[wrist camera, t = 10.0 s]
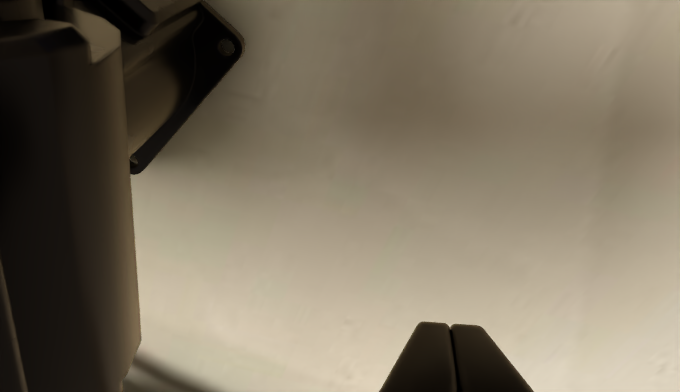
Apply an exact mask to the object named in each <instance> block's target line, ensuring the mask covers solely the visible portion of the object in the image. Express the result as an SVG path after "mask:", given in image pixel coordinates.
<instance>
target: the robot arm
mask: <svg viewBox="0 0 680 392" xmlns="http://www.w3.org/2000/svg"><path fill="white" fill-rule="evenodd" d="M223 40H229V41H231V42H232V43H233V45H234V49H235V50H234V52H233V53H228V52H226V51H225V50H224V49H223V47H222V41H223ZM244 51H245V42H244V38H243V37H242V36H241V35H240V33H239V32H238V31H237V30H235V29H234V28H233V27H232V26H231V25H230V24H229V23H228V22H227V21H226V20H225V19H223V18H222V17H221V16H220V15H219V14H218V13H217V12H216V11H215V10H214V9H213V8H212V7H210V6H209V5H208V4H207V3H206V2H205V1H204V0H0V392H123V386H122V380H123V379H124V377H125V376H126V375H127V373H128V371H129V368H130V366H131V364H132V361H133V359H134V356H135V354H136V352H137V349H138V347H139V345H140V342H141V325H140V308H139V293H138V279H137V264H136V250H135V236H134V221H133V207H132V192H131V178H130V174H133V175H135V174H139V173H141V172H142V171H143V170H144V169H145V168H146V167H147V166H148V165H149V164H150V162H151V161H152V160H153V159H154V158H155V157H156V155H157V154H158V153H159V152H160V151H161V150H162V148H163V147H164V146H165V145H166V144H167V143H168V141H169V140H170V139H171V138H172V137H173V136H174V135H175V133H176V132H177V131H178V130H179V129H180V128H181V126H182V125H183V124H184V123H185V122H186V121H187V119H188V118H189V117H190V116H191V115H192V114H193V112H194V111H195V110H196V109H197V108H198V107H199V105H200V104H201V103H202V102H203V101H204V100H205V98H206V97H207V96H208V95H209V94H210V93H211V92H212V90H213V89H214V88H215V87H216V86H217V85H218V83H219V82H220V81H221V80H222V79H223V78H224V76H225V75H226V74H227V73H228V72H229V71H230V69H231V68H232V67H233V66H234V65H235V64H236V62H237V61H238V60H239V59H240V58H241V57H242V55H243V53H244ZM131 155H133V156H135V157H136V159H137V160H138V163H134V162H132V161H131V160H130V159H129V157H130V156H131ZM379 392H534V391H533V390H532V389H531V387H530V386H529V385H528V384H527V382H526V381H525V380H524V379H523V377H522V376H521V375H520V374H519V372H518V371H517V370H516V369H515V367H514V366H513V365H512V364H511V362H510V361H509V360H508V359H507V357H506V356H505V355H504V354H503V352H502V351H501V350H500V349H499V347H498V346H497V345H496V344H495V342H494V341H493V340H492V339H491V338H490V336H489V335H488V334H487V333H486V331H485V330H484V329H483V328H482V327H480V326H477V325H465V324H453V325H452V326H451V327H449V326H448V325H447V324H446V323H436V322H420V323H419V324H418V325H417V326H416V328H415V330H414V332H413V333H412V335H411V337H410V339H409V340H408V342H407V344H406V346H405V347H404V349H403V351H402V353H401V354H400V356H399V358H398V360H397V361H396V363H395V365H394V367H393V369H392V370H391V372H390V374H389V376H388V377H387V379H386V381H385V383H384V384H383V386H382V388H381V390H380V391H379Z"/></svg>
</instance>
